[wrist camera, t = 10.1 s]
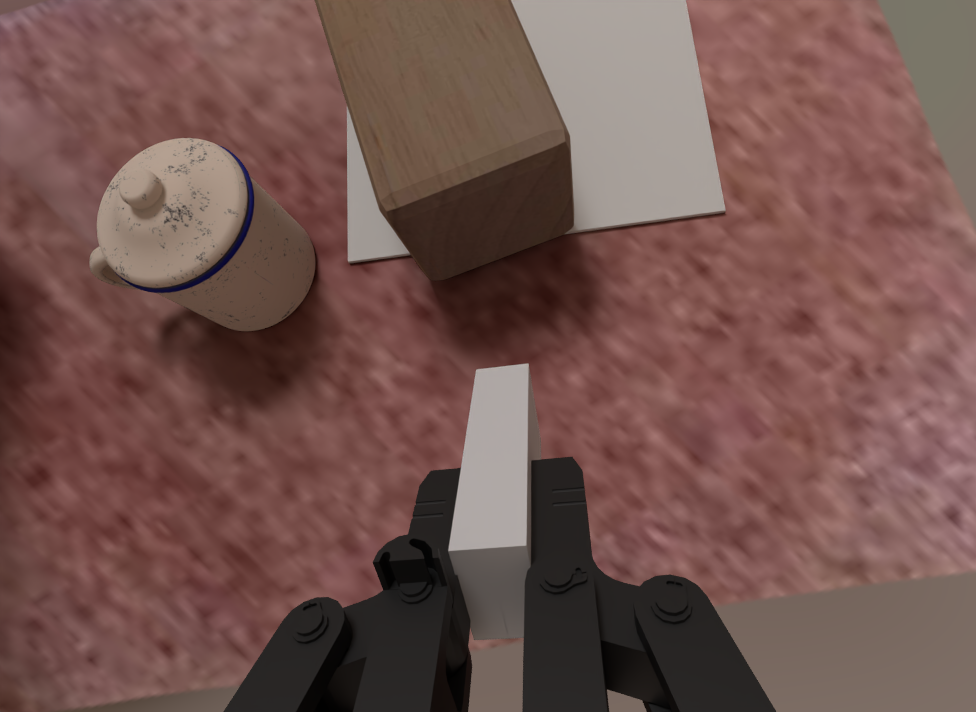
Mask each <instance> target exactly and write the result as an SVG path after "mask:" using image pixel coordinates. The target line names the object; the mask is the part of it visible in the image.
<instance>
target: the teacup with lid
mask: <svg viewBox="0 0 976 712" xmlns="http://www.w3.org/2000/svg"><path fill="white" fill-rule="evenodd" d="M97 236H98V242H99V246H100V247H98V248H96V249H95V250H94V251H93V252H92V254H91V256H90V270H91V272H92V273H93V275H94V276H95V277H97V278H98V279H100V280H102V281H104V282H106V283H109V284H112V285H115V286H119V287H124V288H130V289H140V290H144V291H148V292H154V293H157V294H159V295H161V296H163V297H165V298H167V299H170V300H172V301H174V302H176V303H178V304H180V305H182V306H184V307H186V308H188V309H190V310H192V311H194V312H196V313H198V314H200V315H202V316H204V317H206V318H208V319H210V320H212V321H214V322H216V323H218V324H220V325H222V326H224V327H226V328H229V329H233V330H238V331H255V330H260V329H265V328H267V327H270V326H273V325H275V324H277V323H279V322H280V321H282V320H283V319H285V318H286V317H288V316H289V315H290V314H291V313H292V312H293V311H294V310H295V309H296V308H297V307H298V306H299V305H300V304H301V302H302V301H303V300H304V298H305V296H306V295H307V293H308V291H309V289H310V286H311V284H312V281H313V277H314V272H315V253H314V248H313V245H312V242H311V240H310V238H309V236H308V234H307V233H306V231H305V230H304V229H303V228H302V227H301V226H300V225H299V224H298V223H297V222H296V221H295V220H294V219H293V218H292V217H291V216H290V215H289V214H288V213H287V212H286V211H285V210H284V209H283V208H282V207H281V206H280V205H279V204H278V203H277V202H276V201H275V200H274V199H273V198H272V197H271V196H270V195H269V194H268V193H267V192H266V191H265V190H264V189H263V188H262V187H261V186H260V185H259V184H258V183H256V182H255V181H254V180H253V179H252V178H251V177H250V176H249V174H248V171H247V170H246V168H245V166H244V165H243V164H242V162H241V161H240V160H239V159H238V158H237V157H236V156H235V155H234V154H233V153H231V152H230V151H229V150H227V149H225V148H224V147H222V146H219V145H217V144H214V143H212V142H209V141H206V140H201V139H193V138H180V139H173V140H168V141H164V142H161V143H158V144H156V145H153V146H151V147H149V148H147V149H145V150H144V151H142V152H140V153H139V154H137V155H136V156H135V157H133V158H132V159H131V160H130V161H129V162H127V163H126V164H125V165H124V166H123V167H122V168H121V170H120V171H119V172H118V173H117V174H116V176H115V177H114V178H113V180H112V181H111V183H110V184H109V186H108V188H107V190H106V192H105V194H104V196H103V198H102V201H101V204H100V208H99V212H98V218H97Z"/></svg>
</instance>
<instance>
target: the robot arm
mask: <svg viewBox="0 0 976 712" xmlns="http://www.w3.org/2000/svg"><path fill="white" fill-rule="evenodd" d="M373 564H374V567H375V569H376V572H377V575H378V577H379V580H380V582H381V585H382V588H383V591H382V592H380V593H379V594H377V595H376V596H374V597H371V598H369V599H367V600H364V601H361V602H359V603H356V604H353V605H350V606H347V607H344V608H342V606H341V605H340V604H339V602H338V601H336V600H334V599H331V598H329V597H321V598H314V599H311V600H308V601H305V602H303V603H302V604H300V605H299V606H297V607H296V608H294V609H293V610H292V611H291V612H290V613H289V614H288V615H287V617H286V618H285V619H284V620H283V621H282V623H281V624H280V626H279V627H278V629H277V630H276V632H275V634H274V635H273V637H272V638H271V640H270V641H269V643H268V644H267V646H266V647H265V649H264V650H263V652H262V654H261V655H260V657H259V658H258V660H257V661H256V663H255V664H254V666H253V667H252V669H251V670H250V672H249V673H248V675H247V677H246V678H245V680H244V681H243V683H242V684H241V686H240V687H239V689H238V690H237V692H236V694H235V695H234V696H233V698H232V700H231V701H230V703H229V704H228V706H227V707H226V709H225V710H224V712H468V707H469V696H470V684H471V673H472V661H471V655H470V651H469V648H468V642H469V632H470V628H471V631H472V634H473V638H474V640H486V639H507V638H524V657H523V712H609V706H608V697H607V689H608V690H611V691H615V692H618V693H621V694H624V695H627V696H631V697H634V698H637V699H640V700H642V701H643V703H644V706H645V708H646V711H647V712H776V710H775V709H774V707H773V705H772V704H771V702H770V701H769V699H768V697H767V695H766V694H765V692H764V691H763V689H762V687H761V685H760V684H759V682H758V680H757V679H756V677H755V675H754V674H753V672H752V670H751V669H750V667H749V666H748V664H747V662H746V660H745V659H744V657H743V655H742V654H741V652H740V650H739V649H738V647H737V645H736V644H735V642H734V640H733V639H732V637H731V635H730V634H729V632H728V630H727V629H726V627H725V625H724V624H723V622H722V620H721V619H720V617H719V615H718V614H717V612H716V610H715V609H714V607H713V605H712V604H711V602H710V600H709V599H708V597H707V595H706V594H705V593H704V592H703V591H702V590H701V589H700V587H699V586H698V585H696V584H695V583H693V582H691V581H689V580H688V579H686V578H683V577H678V576H674V575H662V576H655V577H653V578H651V579H649V580H647V581H644V582H643V584H642V585H641V586H635V585H631V584H627V583H623V582H620V581H617V580H614V579H612V578H610V577H609V576H607V575H605V574H604V573H603V572H602V571H601V570H600V569H599V568H598V567H597V565H596V564H595V562H594V560H593V557H592V550H591V541H590V531H589V522H588V513H587V505H586V497H585V488H584V480H583V472H582V469H581V468H580V467H579V465H578V464H577V463H576V461H575V460H574V459H573V457H565V458H553V459H542V460H541V438H540V432H539V426H538V420H537V413H536V407H535V401H534V395H533V388H532V382H531V376H530V370H529V364H520V365H511V366H502V367H494V368H485V369H476V375H475V381H474V388H473V394H472V401H471V407H470V414H469V420H468V426H467V433H466V439H465V446H464V452H463V459H462V465H461V468H457V469H446V470H434V471H430V473H429V474H428V475H427V477H426V478H425V479H424V481H423V482H422V483H421V485H420V486H419V490H418V495H417V499H416V505H415V507H414V512H413V519H412V520H411V524H410V529H409V533H408V535H404V536H399V537H397V538H395V539H393V540H392V541H390V542H388V543H387V544H386V545H385V546H383V547H382V548H381V549H380V550H379V551H378V553H377V555H376V557H375V559H374V561H373Z"/></svg>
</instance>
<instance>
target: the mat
mask: <svg viewBox="0 0 976 712" xmlns="http://www.w3.org/2000/svg"><path fill="white" fill-rule="evenodd" d="M511 2H512V4H513V6H514V8H515V11H516V13H517V15H518V18H519V20H520V22H521V24H522V27H523V29H524V31H525V34H526V36H527V38H528V40H529V43H530V45H531V47H532V50H533V52H534V54H535V57H536V59H537V61H538V63H539V66H540V68H541V70H542V73H543V75H544V77H545V79H546V82H547V84H548V86H549V89H550V91H551V93H552V95H553V98H554V100H555V102H556V105H557V107H558V109H559V111H560V114H561V116H562V118H563V121H564V123H565V125H566V127H567V130H568V132H569V134H570V143H571V162H572V180H573V198H574V226H573V227H572V229H570V230H569V231H568V232H566V233H565V234H571V233H578V232H585V231H593V230H600V229H608V228H615V227H622V226H630V225H637V224H645V223H652V222H659V221H667V220H674V219H682V218H689V217H696V216H704V215H711V214H718V213H725V205H724V200H723V195H722V189H721V184H720V179H719V173H718V168H717V163H716V158H715V152H714V147H713V142H712V136H711V131H710V126H709V121H708V115H707V110H706V105H705V99H704V94H703V89H702V84H701V78H700V73H699V68H698V62H697V57H696V52H695V47H694V41H693V36H692V31H691V26H690V20H689V15H688V10H687V4H686V0H511ZM347 182H348V262H349V263H356V262H364V261H371V260H379V259H386V258H393V257H401V256H408V255H411V254H410V253H409V251H408V250H407V249H406V247H405V246H404V244H403V243H402V242H401V240H400V239H399V237H398V236H397V235H396V233H395V232H394V230H393V229H392V227H391V226H390V225H389V223H388V222H387V220H386V219H385V218H384V216H383V215H382V213H381V212H380V210H379V207H378V204H377V201H376V198H375V194H374V191H373V188H372V185H371V181H370V178H369V175H368V172H367V168H366V165H365V162H364V159H363V155H362V152H361V149H360V146H359V142H358V139H357V136H356V133H355V129H354V126H353V123H352V120H351V117H350V113H349V110H348V107H347Z"/></svg>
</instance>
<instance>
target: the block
mask: <svg viewBox="0 0 976 712" xmlns="http://www.w3.org/2000/svg"><path fill="white" fill-rule="evenodd" d="M315 3H316V6H317V9H318V13H319V16H320V19H321V22H322V26H323V29H324V32H325V35H326V39H327V42H328V45H329V48H330V52H331V55H332V58H333V61H334V65H335V68H336V71H337V74H338V78H339V81H340V84H341V87H342V91H343V94H344V97H345V100H346V104H347V107H348V110H349V113H350V117H351V120H352V123H353V126H354V129H355V133H356V136H357V139H358V142H359V146H360V149H361V152H362V155H363V159H364V162H365V165H366V168H367V172H368V175H369V178H370V181H371V185H372V188H373V191H374V194H375V198H376V201H377V204H378V207H379V210H380V212H381V213H382V215H383V216H384V218H385V219H386V220H387V222H388V223H389V225H390V226H391V227H392V229H393V230H394V232H395V233H396V235H397V236H398V237H399V239H400V240H401V242H402V243H403V244H404V246H405V247H406V249H407V250H408V251H409V253H410V254H411V256H412V257H413V259H414V260H415V261H416V263H417V264H418V266H419V267H420V268H421V270H422V271H423V273H424V274H425V275H426V276H427V277H428V278H429V279H430V280H433V281H438V280H445V279H448V278H451V277H453V276H456V275H458V274H461V273H464V272H466V271H469V270H472V269H474V268H477V267H480V266H482V265H485V264H488V263H490V262H493V261H495V260H498V259H501V258H503V257H506V256H509V255H511V254H514V253H517V252H519V251H522V250H524V249H527V248H530V247H532V246H535V245H538V244H540V243H543V242H546V241H548V240H551V239H554V238H556V237H559V236H561V235H564V234H565V233H566V232H568V231H569V230H570V229H572V227H573V226H574V198H573V180H572V162H571V143H570V134H569V132H568V130H567V127H566V125H565V123H564V121H563V118H562V116H561V114H560V111H559V109H558V107H557V105H556V102H555V100H554V98H553V95H552V93H551V91H550V89H549V86H548V84H547V82H546V79H545V77H544V75H543V73H542V70H541V68H540V66H539V63H538V61H537V59H536V57H535V54H534V52H533V50H532V47H531V45H530V43H529V40H528V38H527V36H526V34H525V31H524V29H523V27H522V24H521V22H520V20H519V18H518V15H517V13H516V11H515V8H514V6H513V4H512V2H511V0H315Z"/></svg>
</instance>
